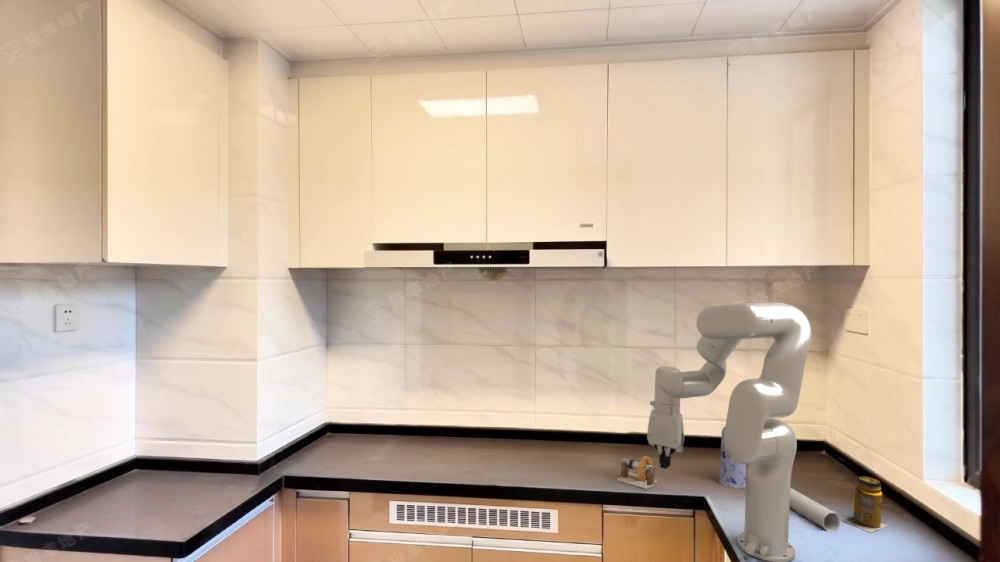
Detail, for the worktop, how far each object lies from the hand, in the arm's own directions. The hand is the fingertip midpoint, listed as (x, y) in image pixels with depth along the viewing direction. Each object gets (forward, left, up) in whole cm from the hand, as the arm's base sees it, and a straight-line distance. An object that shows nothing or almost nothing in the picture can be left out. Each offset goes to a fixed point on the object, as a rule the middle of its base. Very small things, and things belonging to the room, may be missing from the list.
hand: (664, 467), depth 161 cm
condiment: (+17, -49, -7) cm, 53 cm away
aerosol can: (+20, -14, -7) cm, 26 cm away
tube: (+14, -33, -8) cm, 37 cm away
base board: (0, +9, -7) cm, 11 cm away
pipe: (0, +9, -3) cm, 9 cm away
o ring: (0, +6, -5) cm, 8 cm away
